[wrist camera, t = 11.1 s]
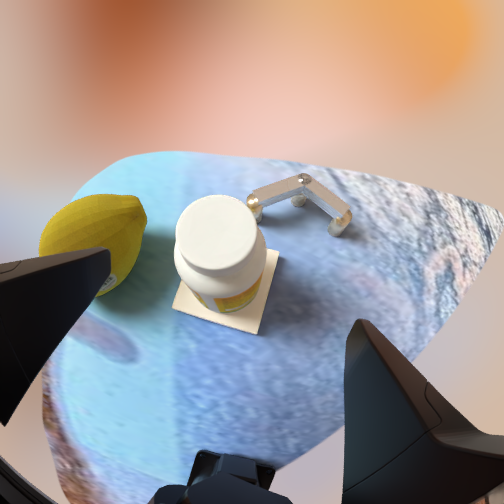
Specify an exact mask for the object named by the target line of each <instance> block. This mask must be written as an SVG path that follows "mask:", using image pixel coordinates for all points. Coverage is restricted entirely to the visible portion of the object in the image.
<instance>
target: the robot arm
mask: <svg viewBox="0 0 504 504" xmlns="http://www.w3.org/2000/svg"><path fill="white" fill-rule="evenodd" d="M110 273H111V252H110V250H109V249H107V248H104V247H95V248H88V249H82V250H76V251H70V252H65V253H59V254H53V255H48V256H42V257H37V258H31V259H26V260H22V261H21V260H20V261H15V262H9V263H4V264H0V423H1V424H2V425H3V426H4V427H5V426H6V425H7V423H8V421H9V420H10V418H11V416H12V414H13V413H14V411H15V409H16V408H17V406H18V404H19V403H20V401H21V400H22V398H23V396H24V395H25V393H26V392H27V390H28V388H29V387H30V385H31V383H32V382H33V381H34V379H35V377H36V376H37V375H38V373H39V372H40V370H41V369H42V367H43V366H44V364H45V363H46V361H47V360H48V359H49V357H50V356H51V354H52V353H53V352H54V350H55V349H56V348H57V346H58V345H59V343H60V342H61V341H62V339H63V338H64V337H65V335H66V334H67V333H68V331H69V330H70V329H71V328H72V326H73V325H74V324H75V322H76V321H77V320H78V319H79V317H80V316H81V315H82V314H83V312H84V311H85V310H86V309H87V307H88V306H89V305H90V303H91V302H92V301H93V299H94V298H95V296H96V295H97V293H98V292H99V290H100V289H101V287H102V286H103V284H104V283H105V281H106V280H107V279H108V277H109V276H110ZM344 411H345V446H344V477H343V494H342V503H341V504H504V436H502V435H490V434H486V433H484V432H482V431H480V430H478V429H477V428H476V427H475V426H474V425H473V424H472V423H470V422H469V421H468V420H467V419H466V418H465V417H464V416H463V415H462V414H461V413H460V412H459V411H458V410H457V409H455V408H454V407H453V406H452V405H451V404H450V403H449V402H448V401H447V400H446V399H445V398H444V397H443V396H442V395H441V394H440V393H439V392H438V391H437V390H436V389H435V388H434V387H433V386H432V385H431V384H430V382H427V379H426V378H425V377H424V376H423V375H422V374H421V373H420V372H419V371H418V370H417V369H416V368H415V367H414V366H413V365H412V364H411V363H410V362H409V361H408V360H407V359H406V358H405V356H404V355H403V354H402V353H401V352H400V351H399V350H398V349H397V348H396V347H395V346H394V345H393V344H392V343H391V342H390V341H389V340H388V339H387V338H386V337H385V336H384V335H383V334H382V333H381V332H380V331H379V330H378V329H377V328H376V327H375V326H374V325H373V324H372V323H371V322H370V321H368V320H365V319H360V318H359V319H357V320H356V321H355V323H354V325H353V327H352V329H351V331H350V333H349V335H348V337H347V340H346V352H345V368H344ZM200 454H205V456H206V457H201V456H200ZM268 470H271V471H272V472H271V473H267V472H266V471H268ZM274 475H275V469H274V467H272V466H268V465H263V464H258V463H255V461H254V460H250V459H246V458H241V457H237V456H233V455H229V454H226V453H224V454H222V455H220V454H217V453H213V452H210V451H206V450H199V451H198V452H197V454H196V458H195V461H194V464H193V467H192V470H191V474H190V477H189V480H188V483H187V486H184V485H167V486H164V487H161V488H159V489H158V491H157V492H156V493H155V494H154V496H153V497H152V498H151V500H150V501H149V502H148V504H293V503H292V502H291V501H290V500H289V499H288V498H287V497H285V496H282V495H279V494H276V493H273V492H271V491H268V490H269V488H270V485H271V483H272V480H273V478H274ZM0 504H58V503H56V502H55V501H54V500H52V499H51V498H49V497H48V496H47V495H45V494H44V493H43V492H41V491H40V490H39V489H38V488H36V487H35V486H34V485H32V484H31V483H30V482H29V481H28V480H27V479H25V478H24V477H23V476H22V475H21V474H20V473H18V472H17V471H16V470H15V469H14V468H13V467H12V466H11V465H10V464H8V463H7V462H6V461H5V459H3V458H2V457H1V456H0Z"/></svg>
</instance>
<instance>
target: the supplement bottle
mask: <svg viewBox="0 0 504 504" xmlns="http://www.w3.org/2000/svg"><path fill="white" fill-rule="evenodd" d="M175 236H176V243H175V248H174V260H175V265H176V268H177V271H178V273H179V275H180V277H181V278H182V280H183V281H184V283H185V284H186V285H187V287H188V288H189V289H190V291H191V292H192V293H193V295H194V296H195V297H196V298H197V300H198V301H199V302H200V303H201V304H202V305H203V306H204V307H206V308H207V309H209V310H211V311H214V312H217V313H224V314H227V313H233V312H237V311H239V310H241V309H243V308H245V307H246V306H248V305H249V304H250V303H251V302H252V301H253V299H254V298H255V296H256V295H257V292H258V290H259V287H260V283H261V279H262V274H263V271H264V267H265V263H266V256H267V249H266V243H265V239H264V236H263V234H262V232H261V230H260V229H259V227H258V226H257V223H256V219H255V217H254V215H253V213H252V211H251V210H250V209H249V208H248V207H247V206H246V205H245V204H244V203H243V202H241V201H240V200H238V199H236V198H234V197H231V196H227V195H210V196H206V197H203V198H200V199H198V200H196V201H194V202H193V203H192V204H190V205H189V206H188V207H187V208H186V209H185V210H184V212H183V213H182V214H181V216H180V218H179V220H178V222H177V226H176V235H175Z"/></svg>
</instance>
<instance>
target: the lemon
mask: <svg viewBox="0 0 504 504" xmlns="http://www.w3.org/2000/svg"><path fill="white" fill-rule="evenodd" d="M146 224H147V216H146V214H145V211H144V209H143V206H142V204H141V203H140V200H139V199H138V198H137V197H136V196H132V195H114V194H97V195H90V196H87V197H84V198H81V199H78V200H76V201H74V202H72V203H70V204H68V205H67V206H65V207H64V208H63V209H61V210H60V211H59V212H57V213H56V214H55V215H54V216H53V217H52V218H51V219H50V221H49V222H48V223H47V225H46V227H45V229H44V230H43V232H42V235H41V239H40V245H39V257H42V256H48V255H53V254H59V253H65V252H70V251H76V250H82V249H88V248H95V247H104V248H107V249H109V250H110V252H111V273H110V276H109V277H108V279H107V280H106V281H105V283H104V284H103V286H102V287H101V289H100V290H99V292H98V293H97V295H96V296H95V297H98V296H101V295H103V294H105V293H107V292H108V291H110V290H112V289H114V288H115V287H116V286H118V285H119V284H120V283H121V282H122V281H123V280H124V279H125V278H126V277H127V275H128V274H129V273H130V271H131V270H132V268H133V266H134V264H135V262H136V260H137V257H138V255H139V252H140V248H141V242H142V236H143V233H144V230H145V226H146Z"/></svg>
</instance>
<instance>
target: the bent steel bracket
mask: <svg viewBox="0 0 504 504" xmlns="http://www.w3.org/2000/svg"><path fill="white" fill-rule="evenodd" d="M290 197H291V203H292V204H293V205H294V206H296V207H301V206H303V205H304V204H305V201H306V198H309V199H310V200H311V201H313V202H314V203H315V204H316V205H318V206H319V207H320V208H321V209H323V210H324V211H325V212H326V213H328V214H329V215H330V216H331V217H333V219H332V221H331V222H330V224H329V226H328V228H327V230H328V233H329V234H330V235H331V236H334V237H338V236H339V235H340V234H341V233H342V232H343V230H344V229H345V228H346V226H347V225H348V223H349V222H350V221H351V219H352V213H351V211H350V210H349V208H350V206H349V205H348V204H346V203H345V202H344V201H343V200H341V199H340V198H339V197H337V196H336V195H335V194H334V193H332V192H331V191H330V190H328V189H327V188H326V187H324V186H323V185H322V184H320V183H319V182H318V181H316V180H315V179H314V178H312V177H311V176H310V175H308V174H306V173H302V174H299V175H296V176H293V177H290V178H287V179H284V180H281V181H278V182H275V183H272V184H270V185H267V186H264V187H261V188H258V189H256V190H253V191H252V194H250V195H249V196H248V197H247V207H248V208H249V209H250V210H251V211H252V213H253V215H254V217H255V219H256V223H257V224H258V223H259V222H260V221H261V219H262V212H263V208H264V207H266V206H269V205H272V204H274V203H277V202H280V201H282V200H285V199H288V198H290Z"/></svg>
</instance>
